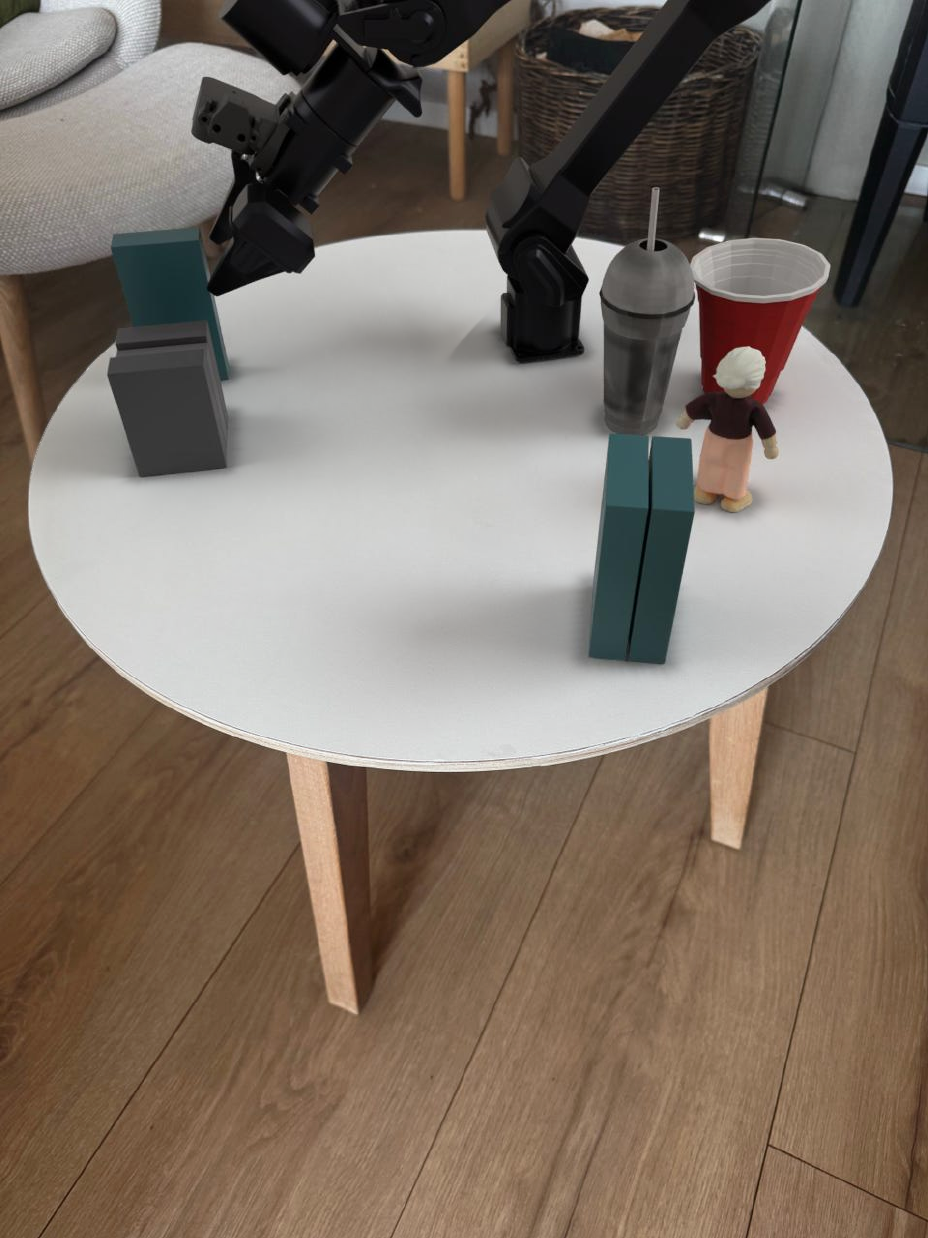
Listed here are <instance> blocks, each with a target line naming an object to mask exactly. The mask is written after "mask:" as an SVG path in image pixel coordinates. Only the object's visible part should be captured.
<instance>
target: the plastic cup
mask: <svg viewBox="0 0 928 1238" xmlns="http://www.w3.org/2000/svg"><path fill="white" fill-rule="evenodd" d="M689 264H690V267H691V269H692V272H693V276H694V286H695V290H696V297H697V303H698V322H699V324H698V325H699V329H698V330H699V356H700V363H701V364H700V367H701V368H700V371H701V372H700V374H701V375H700V384H701V387H702V394H705V393H708V392H713V391H721V392H725V390H724V388H722V387H721V386H719V385H718V383H717V380H716V378H714V377H713V375H716V373H717V367H718V365H719V363H720V361H721V360H722V359H723V358H725V356H726V355H727V354H728V353H729V352H731V351H732V350H734V349H736V348H740V347H751V348H753V349H756V350H759V351H760V352H761V354H762V356H763V357H765V361H766V363H765V369H766V370H765V372H764V375H763V376H764V378H763V379H762V380H761V383H760V386H759V388H757V389H756V390H755V392H754V393H753V394H751V395H750V397H752V398H753V399H755V400H757V401H758V402H760V403H761V404H762V405H763V406H764V404H766V403H767V402H768V400H769V398H770V397H771V396H772V393H773V391H774V389H775V387H776V384H777V382H778V380H779V377H780V375H781V372H783V370H784V369H785V367H786V364H787V362H788V360H789V357H790V355H791V353H792V351H793V348H794V345H795V342H797V341H796V340H797V339H798V336H799V333H800V331H801V329H802V326H803V324H804V322H805V320H806V318H807V315H808V314H809V313H810V310H811V307H812V305H813V302H815V300H816V297H817V294H818V292H820V289H821V288H822V286H823V285H825V284H826V283H827V281H828V279H829V275H830V270H831V263H830V262H829V261H828V260H827V259H826V257H825V256H824V254H823V253H822V252H819V251H817V250H815V249H813V248H811V247H809V246H807V245H805V244H802V243H797V242H793V241H790V240H785V239H781V238H764V237H749V238H740V239H729V240H726V241H721V242H720V243H717V244H716V243H715V244H713V245H710V246H707V247H705V248H704V249H702V250H700V252H698V253H697V254H695V255H694V256H693V257H692V259H691V262H690V263H689Z"/></svg>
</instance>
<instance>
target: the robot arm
mask: <svg viewBox="0 0 928 1238" xmlns="http://www.w3.org/2000/svg"><path fill="white" fill-rule="evenodd" d="M511 1H512V0H224V1H223V3H222V6H221V8H220V9H219V13H218V19H219V20H220V21H221V22H222V23H224V24H225V25H226V26H227V27H228V28H229V29H230V30H231V31H232V32H233V33H235V35H237V36H238V37H239V38H240V39H242V40H243V42H245V44H247V45H248V46H249V47H250V48H252V49H253V50H254V51H255V52H256V53H257V54H258V55H259V56H260V57H262V58H263V59H264V60H265V61H266V62H267V63H268V64H269V65H270V66H272V67H273V68H274V69H275V70H276V71H277V72H278V73H279V74H281V75H282V76H283V77H284V76H287V75H288V74H290V73H292V74H293V75H294V76H295V77H298V76H299V75H300V74H301V75H306V74H308V73H309V72H310V71H311V70H312V69H313V68H314V67H315V66H316V65H317V63H318V62H319V61H320V59H322V57H323V55H324V54H325V52H326V51H327V50H328V48H329V46H330V45H331V43H332V42H333V41H334V42H335V43H334V45H333V46H332V48H331V49H330V50H329V52H328V53H327V54H326V56H325V57H324V58H323V59H322V60H321V62H320V64H318V65H317V67H316V68H315V70H314V71H313V72H312V74H311V75H310V76H309V77H308V79H307V80H306V81H305V82H304V84H303V86H302V87H301V88H300V89H299V91H298V92H297V93H294V92H293V91H292V90H291V91H289V93H287V92H284V93H283V94H282V96H281V97H280V98H279V100H278V101H277V102H276V103H272V102H270V101H268V100H266V99H263V98H261V97H260V96H258V95H257V94H254V93H252V92H250V91H247V90H245V89H242V88H240V87H238V86H235V85H232V84H230V83H227V82H225V81H222V80H220V79H217V78H215V77H212V76H211V77H210V76H203V77H202V79H201V82H200V86H199V91H198V93H197V98H196V102H195V106H194V111H193V114H192V119H191V121H192V124H191V129H190V132H191V135H192V136H193V137H194V138H195V139H197V140H198V141H200V142H202V143H205V144H208V145H212V144H215V145H218V146H221V147H223V148H226V149H228V150H230V159H231V164H232V171H233V178H232V181H231V182H230V186H229V188H228V191H227V193H226V196H225V197H224V200H223V202H222V205H221V206H220V209H219V210H218V213H217V216H216V219H215V221H214V223H213V226H212V227H211V230H210V233H209V234H208V238H209V240H210V241H211V242H213V243H214V244H216V245H217V246H220V245H222V244H225V243H226V242H228V241H229V242H228V244H227V246H226V248H225V250H224V252H223V254H222V256H221V257H220V259H219V261H218V263H217V265H216V267H215V268H214V270H213V272H212V274H211V275H210V280H209V282H208V284H207V291H209V292H210V293H211V294H213V295H214V297H220V296H221V297H222V296H223V295H225V294H228V293H230V292H233V291H235V290H238V289H240V288H244V287H245V286H248V285H250V284H253V283H256V282H259V281H261V280H264V279H267V278H270V277H273V276H276V275H279V274H282V273H286V274H292V273H294V274H300V275H301V274H302V273H303V272H304V271H305V269H306V268H307V267H308V266H309V264H310V263H311V262H312V261H313V260H314V259H315V258H316V249H315V239H314V232H313V224H312V223H313V222H312V220H311V218H309V217H308V216H307V215H305V214H304V213H303V212H302V211H300V210H299V209H298V208H297V206H300V207H301V208H302V209H304V210H305V211H306V212H307V213H308V214H310V215H313V214H314V213H315V211H316V210H317V209H318V208H319V207H320V198H319V195H320V193H322V191H323V190H324V189H325V188H326V186H327V185H328V184H329V182H331V180H332V179H333V178H334V176H335V175H336V174H337V173H338V171H339V172H341V173H342V174H343V175H344V176H345V175H346V174H347V173H348V172H349V171H350V169H351V168H352V167H353V165H354V164H353V159H352V155H353V153H355V151H356V150H357V148H358V147H359V146H360V145H361V144H362V142H363V141H364V140H365V138H366V137H367V136H368V135H369V133H371V131H372V130H373V129H374V128H375V126H376V125H377V124H378V123H379V122H380V120H381V119H383V117H384V115H385V114H386V113H387V112H388V111H389V109H390V108H391V107H392V106H393V104H394V103H395V102H396V101H397V102H398V103H399V104H400V105H401V106H402V107H403V108H404V109H405V110H406V111H408V113H410V115H411V116H412V117H414V118H416V119H418V118H420V117H422V115H423V108H422V100H421V98H422V97H421V94H422V93H421V91H422V84H423V81H424V79H423V76H422V74H421V71H420V69H419V68H426V67H429V66H432V65H435V64H437V63H439V62H441V61H442V60H443V59H445V58H446V57H447V56H448V55H450V54H451V53H452V52H454V51H456V50H457V49H458V48H460V47H461V45H463V44H464V43H466V42H467V41H468V40H470V39H471V38H472V37H474V36H475V35H476V34H477V33H478V32H479V30H481V28H482V27H484V25H486V23H487V22H488V21H489V20H490V19H491V18H492V17H493V16H494V14H495V13H496V12H498V11H499V10H500V9H502V8H503V7H504V6H506V5H507V4H508V3H510V2H511ZM771 1H772V0H666V1H665V2H664V4H663V5H662V6H661V8H660V9H659V11H657V13H656V14H655V16H654V17H653V18H652V20H651V21H650V22H649V24H648V25H647V26H646V28H645V29H644V30H643V31H642V33H641V34H640V36H639V37H638V38H637V39H636V41H635V42H634V43H633V45H632V46H631V47H630V48H629V50H628V52H626V54H625V55H624V57H623V58H622V60H621V61H620V62H619V63H618V64H617V66H616V67H615V68H614V70H613V71H612V72H611V74H610V75H609V76H608V78H606V80H605V82H604V83H603V85H601V87H600V89H599V90H598V91H597V92H596V94H595V95H594V97H593V98H592V99H591V100H590V101H589V103H588V104H587V105H586V107H585V108H584V109H583V111H582V112H581V113H580V115H579V116H578V117H577V119H576V120H575V121H574V123H573V124H572V125H571V127H570V128H569V129H568V131H567V132H566V133H565V135H564V136H563V137H562V138H561V140H560V141H559V143H558V144H557V145H556V147H555V148H554V149H553V150H552V151H551V152H550V153H549V154H548V155H547V156H545V157H543V158H542V159H539V160H538V161H537V162H535V163H533V164H532V165H530V166H529V164H528V163H527V162H526V161H525V159H523V158H522V157H521V156H517V157H516V158H515V159H514V161H513V162H512V164H511V165H510V168H509V169H508V171H507V173H506V175H505V177H504V178H503V180H502V181H501V182H500V183H499V184H498V185H497V186H496V187H494V188H493V189H491V190H490V191H489V192H488V196H489V198H490V201H491V202H490V204H489V205H488V207H487V209H486V212H485V228H486V233H487V236H488V238H489V241H490V243H491V246H492V249H493V252H494V253H495V256H496V259H497V261H498V263H499V266H500V268H501V270H502V272H504V273H505V275H506V292H503V293H502V294H501V295H500V320H499V321H500V325H499V328H500V329H499V333H500V336H501V337H502V340H503V342H504V344H505V346H506V347H507V348H508V349H509V350H510V352H511V353H512V355H513V358H514V360H515V361H516V362H517V363H528V362H529V363H530V362H535V361H542V360H543V361H544V360H550V359H558V358H566V357H573V356H581V355H583V354H584V353H585V347H584V345H583V342H582V341H581V339H580V328H581V317H582V315H581V314H582V300H583V296H584V293H585V290H586V289H587V287H588V284H589V281H590V278H589V276H588V273H587V271H586V270H585V268H584V266H583V264H582V262H581V260H580V258H579V256H578V254H577V252H576V250H575V247H574V246H573V243H574V242H575V240H576V238H577V237H578V234H579V231H580V229H581V226H582V223H583V220H584V217H585V214H586V211H587V208H588V205H589V203H590V199H591V197H592V195H593V194H594V192H595V191H596V189H598V187H599V186H600V184H601V183H602V182H603V181H604V180H605V178H606V177H607V176H608V175H609V173H610V172H611V171H612V169H614V167H615V166H616V164H617V163H618V162H619V161H620V160H621V158H622V157H623V156H624V154H625V153H626V152H627V151H628V150H629V148H630V147H631V146H632V145H633V143H634V142H635V141H636V139H637V138H638V137H639V136H640V134H641V133H642V132H643V131H644V129H645V128H646V127H647V126H648V125H649V123H650V122H651V121H652V120H653V118H655V116H656V115H657V114H658V112H659V111H660V109H661V108H662V107H663V106H664V105H665V103H666V102H667V101H668V100H669V98H670V97H671V96H672V95H673V93H674V92H675V91H676V90H677V88H678V87H679V86H680V85H681V84H682V82H683V81H684V80H685V79H686V77H687V76H688V75H689V74H690V72H691V71H692V69H693V68H695V66H696V64H697V63H698V62H699V61H700V59H701V58H702V57H703V56H704V54H705V53H706V52H707V51H708V49H709V48H711V46H712V45H713V43H714V42H715V41H716V40H718V39H719V38H720V37H721V36H723V35H725V34H726V33H728V32H729V31H731V30H733V29H735V28H736V27H738V26H739V25H741V24H743V23H745V22H746V21H748V20H750V19H751V18H753V17H754V16H755V15H757V14H759V12H760V11H761V10H763V9H765V7H766V6H767V5H768V4H769V3H770V2H771ZM384 50H386V51H388V52H389V53H390V54H391V55H392V56H393V58H395V59H396V60H397V61H398V62H401V63H404V64H406V65H409V66H412V67H413V68H402V67H401V66H400V65H399V64H398V63H396V61H394V59H393V58H391V56H390V55H388V54H387V52H385V51H384Z"/></svg>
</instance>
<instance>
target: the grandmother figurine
mask: <svg viewBox="0 0 928 1238" xmlns="http://www.w3.org/2000/svg"><path fill="white" fill-rule="evenodd" d="M765 363H766V361H765V357H763V356H762V354H761V352H760V351H759V350H756V349H753V348H751V347H740V348H736V349H734V350H732V351H731V352H729V353H728V354H727V355H726V356H725V358H723V359H722V360H721V361H720V363H719V365H718V367H717V373H716V375H713V377H714V378H716V380H717V383H718V385H719V386H721V387H722V388H724V390H725V392H721V391H713V392H708V393H705V394H704V393H702V394H701V395H699V396H697V397H695V398H694V399H693V400H691V401H689V402H687V403H686V404H685V406H684V411H683V412H682V413H681V415H680V416H679V417H678V418H677V419H676V427H677V428H678V429H680V430H683V431H684V430H687V429H689V428H690V426H691V424H692V423H693V422H695V421H697V420H699V421H701V420H704V421H710V422H709V424H708V426H707V427H706V429H705V432H704V437H703V440H702V444H701V448H700V453H699V458H698V459H699V460H698V468H697V469H698V470H697V477H696V484H695V485H694V502H696V503H697V504H698V503H699V504H702V505H710V504H713V502H715V500H716V499H717V498H718V496H719V495H724V497H723V499H722V500H721V502H720V507H721V508H722V509H723V510H725V511H727V512H728V513H729V512H730V513H738V512H740V511H742V510H743V509H745V508H747V507H748V506H750V505H751V504H752V503H753V495H752V493H751V492H750V491H749V490H748V489H747V488H748V484H749V478H750V472H751V471H750V470H751V465H752V464H751V463H752V458H753V450H754V438H753V427H754V429H755V431H756V433H757V436H758V437H759V439H760V440H761V445H762V447H763V455H764V457H765V458H766V459H768V460H775V459H777V457H778V456H779V455H780V450H779V448H778V446H777V445H778V441H777V435H776V434H777V429H776V428H775V425H774V423H773V420H772V418H771V416H770V414H769V412H768V410H767V409H766V407H765V406H764V404H763V405H762V404H761V403H760V402H758V401H757V400H755V399H753V398H752V397H750V395H751V394H753V393H754V392H755V390H756V389H757V388H759V386H760V383H761V380H762V379H763V378H764V376H763V375H764V372H765V370H766V369H765Z"/></svg>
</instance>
